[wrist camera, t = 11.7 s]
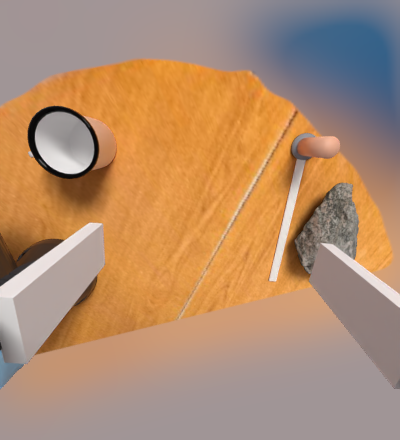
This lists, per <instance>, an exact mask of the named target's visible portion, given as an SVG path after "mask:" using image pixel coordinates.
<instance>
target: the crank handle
mask: <svg viewBox="0 0 400 440" xmlns="http://www.w3.org/2000/svg"><path fill="white" fill-rule="evenodd" d="M339 149H340V142H339V140H338V139H337V138H336V137H334V136H326V137H315V136H314V135H313V134H310V133H305V134H301V135H299V136H297V137H296V138H295V139H294V141H293V143H292V146H291V151H292V154H293V156H294V157H295V158H297V160H296V164H295V169H294V173H293V177H292V182H291V186H290V190H289V195H288V199H287V203H286V208H285V212H284V216H283V221H282V225H281V229H280V233H279V238H278V242H277V246H276V251H275V255H274V259H273V264H272V268H271V272H270V277H269V281H276V279H277V275H278V271H279V267H280V263H281V259H282V255H283V251H284V247H285V243H286V239H287V234H288V230H289V226H290V222H291V218H292V214H293V210H294V206H295V202H296V198H297V194H298V190H299V185H300V181H301V177H302V173H303V169H304V165H305V161H306V160H307V159H310V158H311V157H317V158H326V159H328V158H332V157H334V156H335V155H336V154H337V153H338V151H339Z"/></svg>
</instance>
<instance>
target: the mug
mask: <svg viewBox="0 0 400 440" xmlns="http://www.w3.org/2000/svg"><path fill="white" fill-rule="evenodd" d="M28 144H29V147H30V150H31V151H30V152H28V154H29V156H30V157H31V158H33V157H34V158H35V159H36V161H37V162H38V163H39V165H40V166H42V167H43V168H44V169H45V170H46V171H48V172H49V173H51V174H53V175H55V176H57V177H61V178H65V179H73V178H80V177H82V176H85V175H86V174H88V173H89V172H90V171H91V170H95V169H100V168H103V167H105V166H107V165H109V164H110V163H111V162H112V160H113V159H114V157H115V154H116V140H115V137H114V135H113V133H112V131H111V130H110V129H109V127H108V126H107V125H105V124H104V123H103V122H101V121H99V120H97V119H94V118H90V117H86V116H82V115H81V114H80V113H78V112H76V111H74V110H73V109H70V108H67V107H62V106H51V107H46V108H44V109H41V110H40V111H39V112H37V113H36V114H35V115H34V117H33V118H32V120H31V122H30V124H29V127H28Z"/></svg>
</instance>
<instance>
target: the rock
mask: <svg viewBox="0 0 400 440" xmlns="http://www.w3.org/2000/svg"><path fill="white" fill-rule="evenodd" d="M352 188H353V185H352V184H348V183H339V184H337V185H335V186H334V187H333V188H332V189H331V190H330V191H329V192H328V193H327V194H326V196H325V198H324V199H323V201H322V204H321V205H320V206H318V207H317V208H316V209H315V211H314V214H313V215H312V216H311V218H310V219H309V221H308V222H307V223H306V224H305V226H304V228H303V231H302V232H301V233H300V234H299V235H298V237H297V238H296V239H295V246H296V249H297V252H298V257H299V260H300V263H301V265H302V266H304V269H305V271H306V272H307V273H308V274H311V273H312V269H313V266H314V263H315V259H316V256H317V253H318V249H319V246H320V243H326V244H333V245H335V246H336V247H337V248H339V249H340V250H341V251H343V252H344V253H345V254H347V255H348V256H349V257H351V258H352V259H353V260H354V259H355V256H356V246H357V234H358V229H359V228H358V223H359V220H358V215H357V213H356V208H355V204H354V202H352Z"/></svg>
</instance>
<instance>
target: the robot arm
mask: <svg viewBox="0 0 400 440" xmlns="http://www.w3.org/2000/svg"><path fill="white" fill-rule="evenodd" d="M104 265H105V255H104V235H103V224H101V223H88V224H87V225H86V226H84V227H83V228H81V229H80V230H79V231H77V232H76V233H74V234H73V235H72V236H70V237H69V238H67V239H66V240H60V239H46V240H42V241H39V242H37V243H35V244H34V245H32V246H30V247H29V248H27V249H26V250H25V251H24V252H23V253H22V254H21V255H20V256H19V258H18V260H17V262H16V263H15V261H14V259H13V257H12V255H11V253H10V251H9V249H8V247H7V245H6V243H5V241H4V239H3V237H2V235H1V233H0V389H1V388H2V387H3V386H4V385H5V384H6V383H7V382H8V381H9V379H10V378H11V377H12V376H13V375H14V374H15V373H16V372H17V371H18V370H19V369H20V368H22V367H23V365H24V364H28V362H29V361H30V360H31V358H32V357H33V356H34V355H35V353H36V352H37V351H38V350H39V348H40V347H41V346H42V344H43V343H44V342H45V341H46V339H47V338H48V337H49V336H50V334H51V333H52V332H53V330H54V329H55V328H56V327H57V325H58V324H59V323H60V321H61V320H62V319H63V318H64V316H65V315H66V314H67V313H68V311H69V310H70V309H71V308H72V307H73V306H76V305H78V304H80V303H81V302H83V301H84V300H85V299H86V298H87V297H88V296H89V294H90V293H91V291H92V290H93V289H94V287H95V285H96V281H97V274H98V273H99V272H100V270H101V269H102V268H103V266H104ZM309 282H310V284H311V285H312V286H313V287H314V289H315V290H316V291H317V292H318V294H319V295H320V296H321V297H322V299H323V300H324V301H325V302H326V304H327V305H328V306H329V307H330V309H331V310H332V311H333V312H334V314H335V315H336V316H337V317H338V319H339V320H340V321H341V323H342V324H343V325H344V326H345V328H346V329H347V330H348V331H349V333H350V334H351V335H352V336H353V338H354V339H355V340H356V341H357V342H358V344H359V345H360V346H361V348H362V349H363V350H364V351H365V353H366V354H367V355H368V356H369V358H370V359H371V360H372V361H373V363H374V364H375V365H376V367H377V368H378V369H379V370H380V372H381V373H382V374H383V375H384V377H385V378H386V379H387V380H388V382H389V383H390V384H391V385H392V387H393V388H394V389H400V294H398V293H397V292H396V291H394V290H393V289H392V288H390V287H389V286H388V285H386V284H385V283H384V282H382V281H381V280H380V279H378V278H377V277H376V276H374V275H373V274H372V273H370V272H369V271H368V270H366V269H365V268H364V267H363V266H361V265H360V264H359V263H357V262H356V261H355V260H353V259H352V258H351V257H349V256H348V255H347V254H345V253H344V252H343V251H341V250H340V249H339V248H337V247H336V246H335V245H333V244H326V243H320V246H319V249H318V253H317V256H316V259H315V263H314V266H313V269H312V273H311V276H310V279H309Z"/></svg>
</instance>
